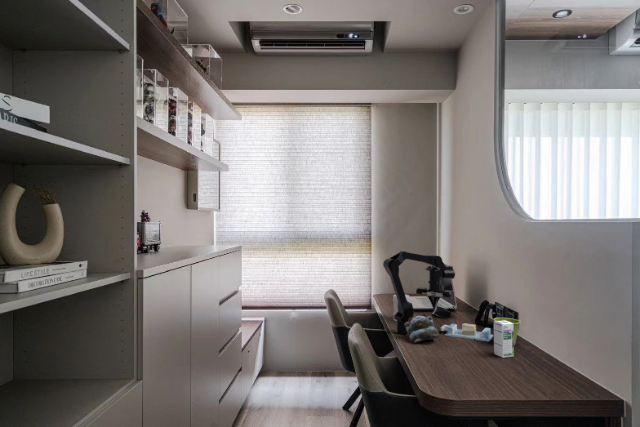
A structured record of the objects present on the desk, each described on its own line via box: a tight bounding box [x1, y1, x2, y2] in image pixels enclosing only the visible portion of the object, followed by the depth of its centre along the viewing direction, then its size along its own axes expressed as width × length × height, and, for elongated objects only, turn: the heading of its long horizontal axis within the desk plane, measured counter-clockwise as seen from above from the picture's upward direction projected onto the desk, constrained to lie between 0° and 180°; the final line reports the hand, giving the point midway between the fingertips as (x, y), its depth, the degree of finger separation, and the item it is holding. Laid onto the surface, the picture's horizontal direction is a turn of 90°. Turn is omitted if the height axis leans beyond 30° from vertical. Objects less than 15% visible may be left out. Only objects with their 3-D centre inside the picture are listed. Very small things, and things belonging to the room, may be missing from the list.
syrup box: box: [493, 320, 515, 359], centre depth 182 cm, size 6×6×14 cm
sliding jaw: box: [440, 323, 458, 334], centre depth 219 cm, size 9×6×4 cm
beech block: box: [461, 322, 477, 336], centre depth 213 cm, size 4×6×5 cm, turn 59°
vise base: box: [444, 327, 494, 342], centre depth 213 cm, size 12×21×4 cm, turn 59°
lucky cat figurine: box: [405, 313, 440, 344], centre depth 205 cm, size 15×12×14 cm
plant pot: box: [493, 317, 522, 346], centre depth 199 cm, size 12×12×11 cm
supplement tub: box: [392, 294, 411, 323], centre depth 246 cm, size 10×10×15 cm
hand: (434, 308), depth 222 cm, fingers closed
